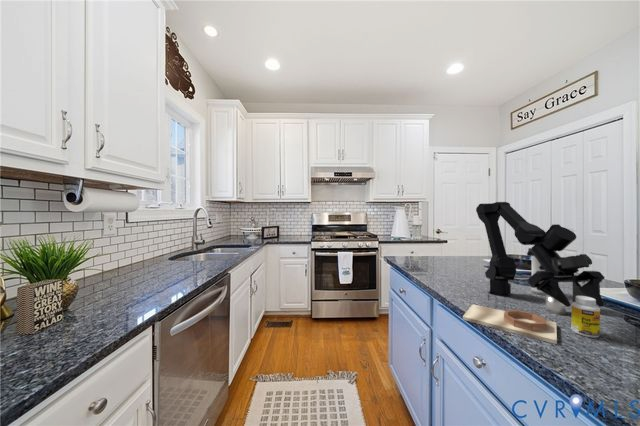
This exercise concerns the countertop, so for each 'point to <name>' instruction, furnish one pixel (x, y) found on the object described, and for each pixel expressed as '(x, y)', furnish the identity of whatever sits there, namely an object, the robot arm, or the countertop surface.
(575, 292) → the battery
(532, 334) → the holder board
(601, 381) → the countertop surface
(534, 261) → the travel mug
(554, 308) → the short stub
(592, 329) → the supplement bottle
